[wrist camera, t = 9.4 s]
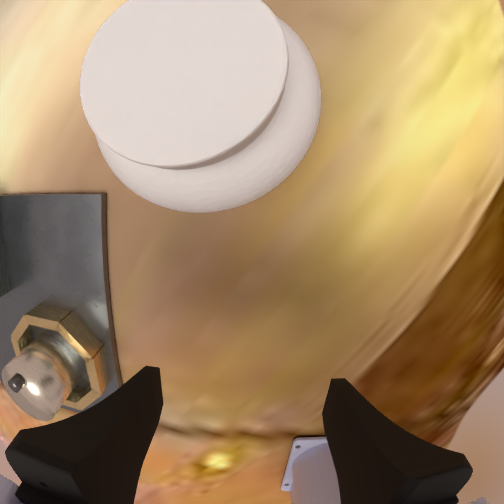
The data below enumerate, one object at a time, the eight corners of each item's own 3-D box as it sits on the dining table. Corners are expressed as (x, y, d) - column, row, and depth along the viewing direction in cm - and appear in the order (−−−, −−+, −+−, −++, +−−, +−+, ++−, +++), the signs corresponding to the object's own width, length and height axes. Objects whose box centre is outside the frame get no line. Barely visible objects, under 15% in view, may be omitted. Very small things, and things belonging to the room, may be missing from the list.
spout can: (93, 382, 22) (57, 436, 16) (48, 372, 22) (9, 417, 15) (80, 331, 21) (34, 382, 14) (34, 323, 21) (-15, 365, 14)
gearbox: (129, 419, 24) (110, 463, 19) (5, 381, 24) (-22, 409, 18) (106, 193, 19) (59, 203, 14) (-31, 196, 19) (-75, 206, 13)
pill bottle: (310, 116, 18) (410, 28, 5) (249, 215, 20) (242, 302, 7) (208, 60, 17) (146, -78, 4) (148, 157, 19) (-4, 149, 6)
